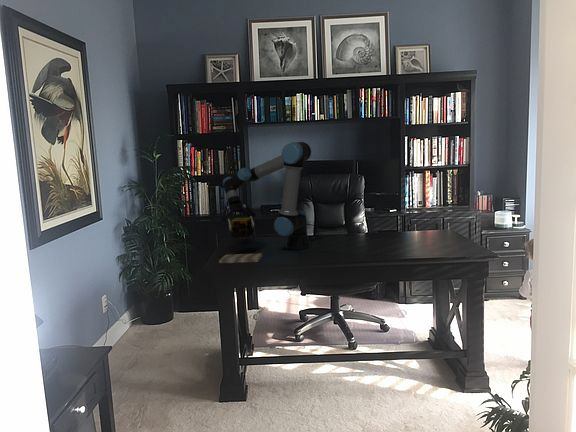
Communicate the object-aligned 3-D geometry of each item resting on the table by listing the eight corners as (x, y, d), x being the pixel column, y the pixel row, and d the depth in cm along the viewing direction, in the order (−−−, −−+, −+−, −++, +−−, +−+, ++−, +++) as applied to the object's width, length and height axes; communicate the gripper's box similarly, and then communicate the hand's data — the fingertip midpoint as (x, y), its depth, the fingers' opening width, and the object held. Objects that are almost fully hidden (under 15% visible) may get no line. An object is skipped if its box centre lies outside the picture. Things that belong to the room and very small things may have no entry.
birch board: (262, 255, 289) (262, 253, 289) (257, 261, 275) (257, 259, 275) (225, 257, 292) (225, 254, 292) (219, 263, 278) (219, 260, 278)
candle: (248, 237, 280) (246, 220, 279) (231, 238, 283) (229, 220, 281) (253, 234, 290) (252, 217, 289) (237, 234, 293) (235, 217, 291)
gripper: (252, 201, 305) (261, 228, 293) (212, 205, 297) (220, 234, 285) (254, 193, 299) (263, 221, 287) (213, 197, 291) (221, 226, 279)
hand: (242, 227), depth 286 cm, fingers closed on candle, 13 cm apart
